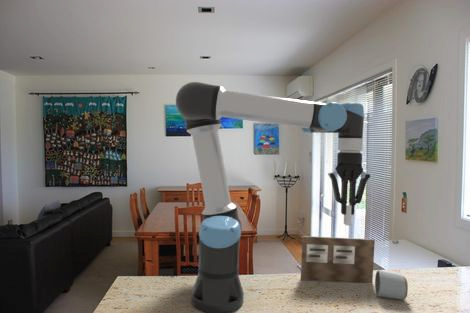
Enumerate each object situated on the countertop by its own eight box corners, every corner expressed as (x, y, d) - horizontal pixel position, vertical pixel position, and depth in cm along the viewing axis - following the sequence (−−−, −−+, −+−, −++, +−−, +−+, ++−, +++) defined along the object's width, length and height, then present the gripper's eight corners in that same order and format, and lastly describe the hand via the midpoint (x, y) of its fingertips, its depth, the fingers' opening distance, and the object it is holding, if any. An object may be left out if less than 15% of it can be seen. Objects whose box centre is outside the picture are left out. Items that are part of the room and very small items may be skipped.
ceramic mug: (408, 304, 93) (409, 279, 93) (378, 300, 95) (379, 275, 95) (398, 289, 104) (399, 266, 103) (371, 286, 106) (373, 263, 105)
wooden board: (301, 280, 108) (303, 236, 107) (300, 279, 109) (302, 236, 108) (372, 284, 107) (375, 240, 106) (371, 282, 108) (373, 239, 107)
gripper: (365, 152, 105) (363, 222, 106) (326, 151, 106) (324, 221, 107) (375, 152, 98) (372, 228, 99) (332, 151, 98) (329, 226, 99)
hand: (347, 224), depth 103 cm, fingers closed
